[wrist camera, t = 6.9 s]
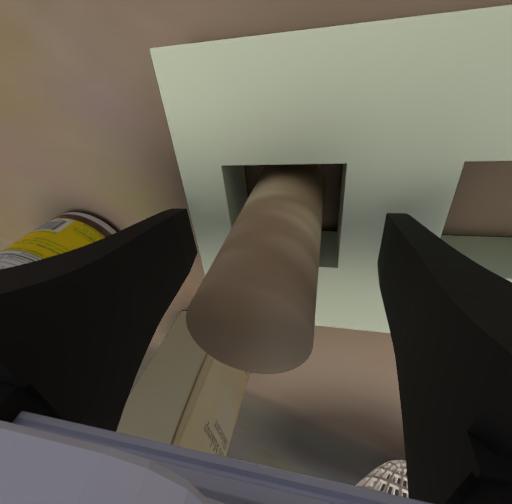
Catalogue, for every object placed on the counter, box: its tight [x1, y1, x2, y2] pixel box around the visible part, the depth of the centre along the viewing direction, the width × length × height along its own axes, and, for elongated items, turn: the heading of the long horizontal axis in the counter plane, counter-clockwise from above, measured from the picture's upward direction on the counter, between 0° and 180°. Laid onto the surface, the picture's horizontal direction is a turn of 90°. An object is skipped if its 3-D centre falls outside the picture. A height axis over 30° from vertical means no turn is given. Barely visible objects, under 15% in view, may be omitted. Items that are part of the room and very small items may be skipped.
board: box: [150, 5, 512, 333], centre depth 12 cm, size 16×12×3 cm
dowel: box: [186, 164, 325, 374], centre depth 10 cm, size 3×3×9 cm
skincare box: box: [116, 311, 250, 457], centre depth 17 cm, size 6×4×12 cm
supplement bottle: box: [0, 212, 117, 269], centre depth 15 cm, size 6×6×10 cm
